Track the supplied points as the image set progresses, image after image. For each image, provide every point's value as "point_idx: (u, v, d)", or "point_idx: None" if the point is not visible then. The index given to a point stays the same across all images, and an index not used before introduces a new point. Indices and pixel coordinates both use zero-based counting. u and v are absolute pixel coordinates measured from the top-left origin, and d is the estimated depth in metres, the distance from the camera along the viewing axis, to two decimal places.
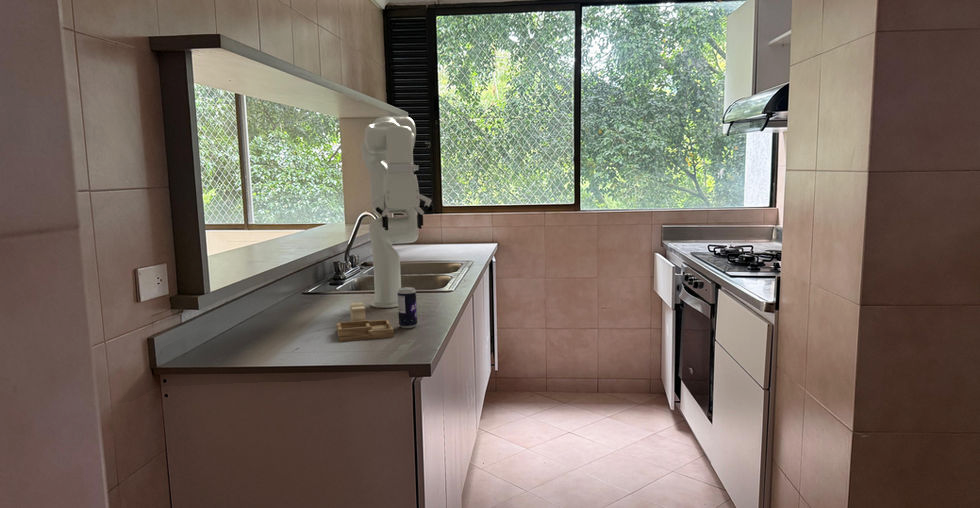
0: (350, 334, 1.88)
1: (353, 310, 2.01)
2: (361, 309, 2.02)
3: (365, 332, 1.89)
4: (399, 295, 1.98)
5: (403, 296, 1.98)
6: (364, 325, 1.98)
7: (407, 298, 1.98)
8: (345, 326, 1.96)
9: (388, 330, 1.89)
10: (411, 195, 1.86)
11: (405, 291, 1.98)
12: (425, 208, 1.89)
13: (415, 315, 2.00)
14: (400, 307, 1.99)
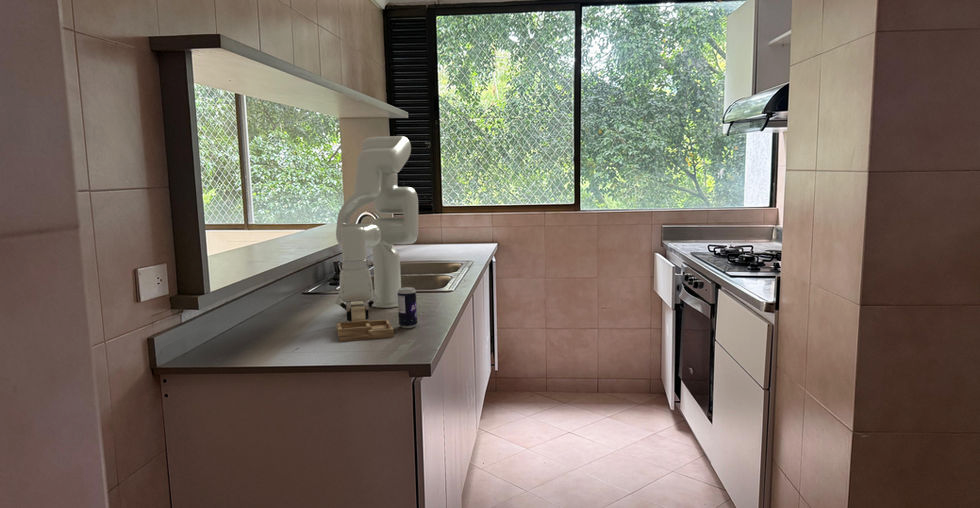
0: (350, 334, 1.88)
1: (353, 310, 2.01)
2: (361, 309, 2.02)
3: (365, 332, 1.89)
4: (399, 295, 1.98)
5: (403, 296, 1.98)
6: (364, 325, 1.98)
7: (407, 298, 1.98)
8: (345, 326, 1.96)
9: (388, 330, 1.89)
10: (364, 289, 2.04)
11: (405, 291, 1.98)
12: (370, 303, 2.07)
13: (415, 315, 2.00)
14: (400, 307, 1.99)
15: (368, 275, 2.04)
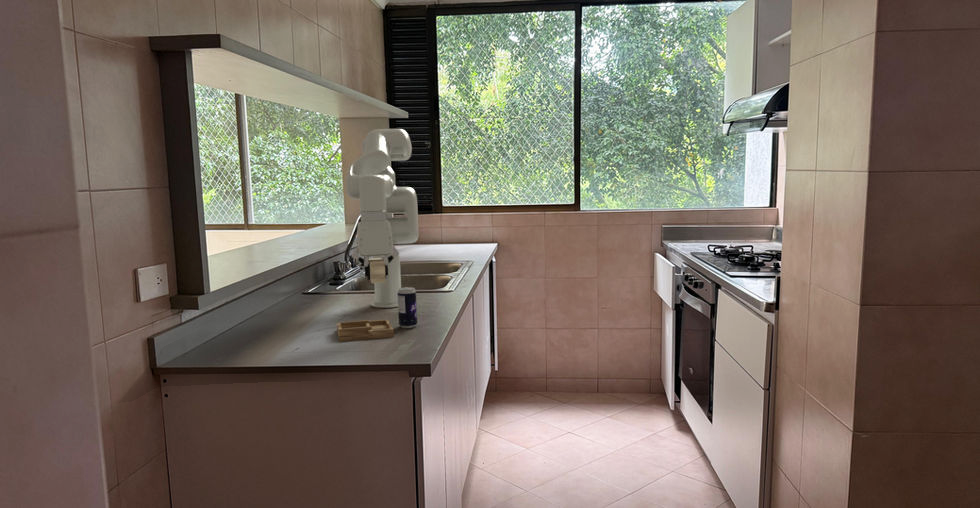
0: (350, 334, 1.88)
1: (372, 264, 1.87)
2: (380, 263, 1.88)
3: (365, 332, 1.89)
4: (399, 295, 1.98)
5: (403, 296, 1.98)
6: (364, 325, 1.98)
7: (407, 298, 1.98)
8: (345, 326, 1.96)
9: (388, 330, 1.89)
10: (384, 242, 1.90)
11: (405, 291, 1.98)
12: (390, 258, 1.93)
13: (415, 315, 2.00)
14: (400, 307, 1.99)
15: (388, 227, 1.90)
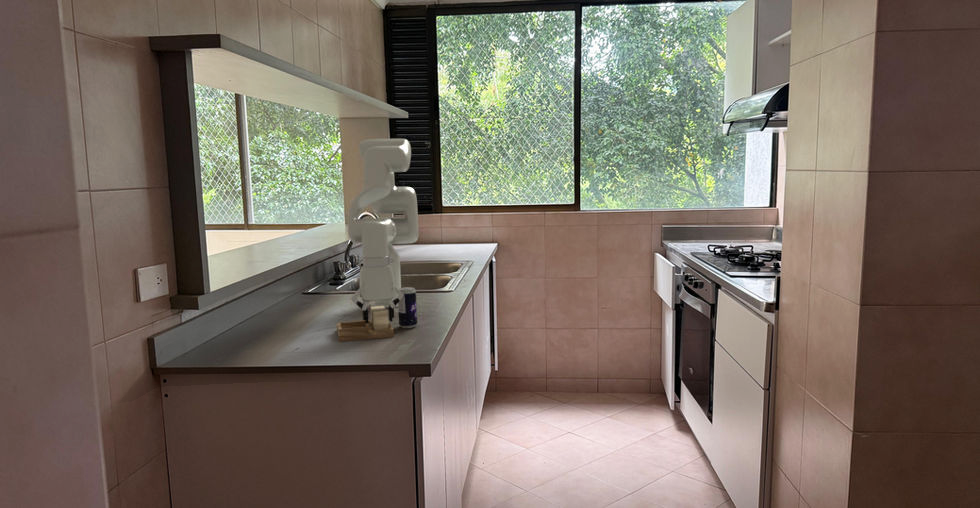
0: (350, 334, 1.88)
1: (375, 314, 1.89)
2: (383, 313, 1.90)
3: (365, 332, 1.89)
4: None
5: (403, 296, 1.98)
6: (364, 325, 1.98)
7: (407, 298, 1.98)
8: (345, 326, 1.96)
9: (388, 330, 1.89)
10: (386, 287, 1.92)
11: (405, 291, 1.98)
12: (396, 301, 1.95)
13: (415, 315, 2.00)
14: (400, 307, 1.99)
15: (390, 273, 1.92)
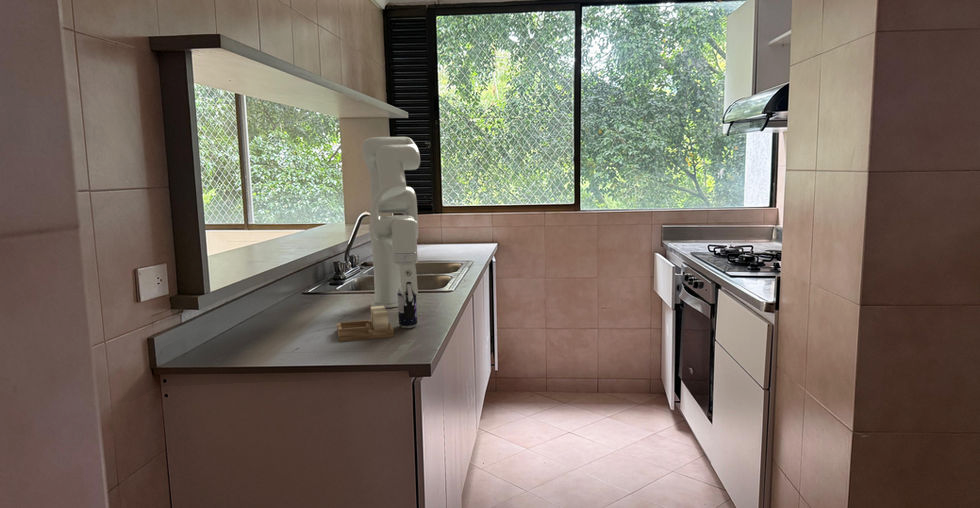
0: (350, 334, 1.88)
1: (375, 314, 1.89)
2: (383, 313, 1.90)
3: (365, 332, 1.89)
4: (399, 295, 1.98)
5: (403, 296, 1.98)
6: (364, 325, 1.98)
7: None
8: (345, 326, 1.96)
9: (388, 330, 1.89)
10: (399, 283, 1.97)
11: None
12: (406, 300, 1.95)
13: (415, 315, 2.00)
14: (400, 307, 1.99)
15: (400, 270, 1.95)
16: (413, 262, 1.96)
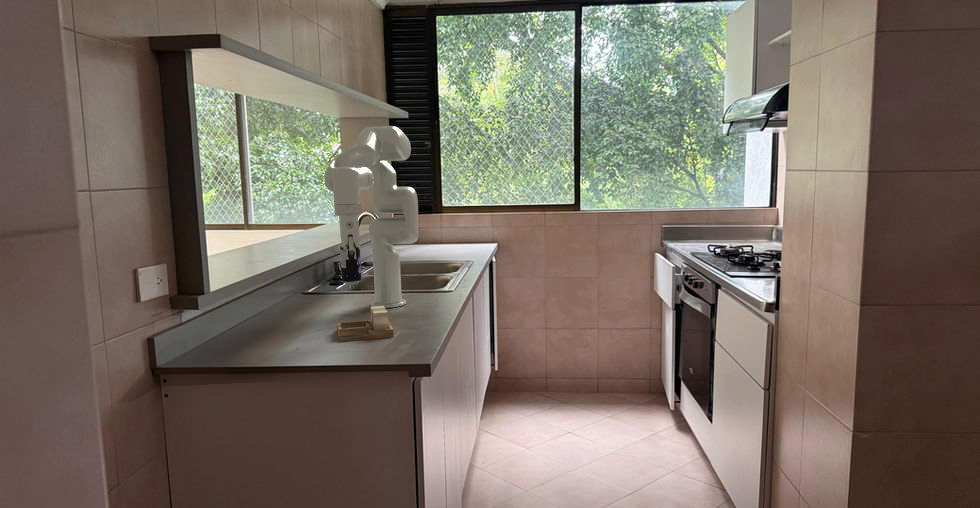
0: (350, 334, 1.88)
1: (375, 314, 1.89)
2: (383, 313, 1.90)
3: (365, 332, 1.89)
4: (341, 249, 1.88)
5: None
6: (364, 325, 1.98)
7: None
8: (345, 326, 1.96)
9: (388, 330, 1.89)
10: (341, 236, 1.86)
11: None
12: (348, 254, 1.85)
13: (359, 270, 1.90)
14: (342, 262, 1.88)
15: (342, 222, 1.85)
16: (355, 214, 1.86)
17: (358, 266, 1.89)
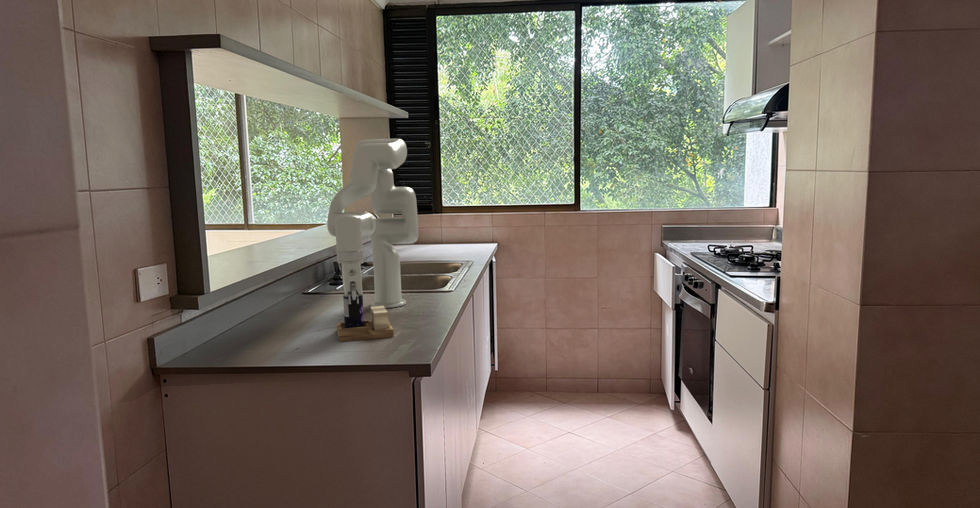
0: (350, 334, 1.88)
1: (375, 314, 1.89)
2: (383, 313, 1.90)
3: (365, 332, 1.89)
4: (344, 298, 1.90)
5: (348, 299, 1.89)
6: (364, 325, 1.98)
7: None
8: None
9: (388, 330, 1.89)
10: (343, 283, 1.88)
11: None
12: (351, 299, 1.85)
13: (362, 319, 1.92)
14: (345, 311, 1.90)
15: (344, 269, 1.86)
16: (358, 261, 1.88)
17: (361, 315, 1.91)
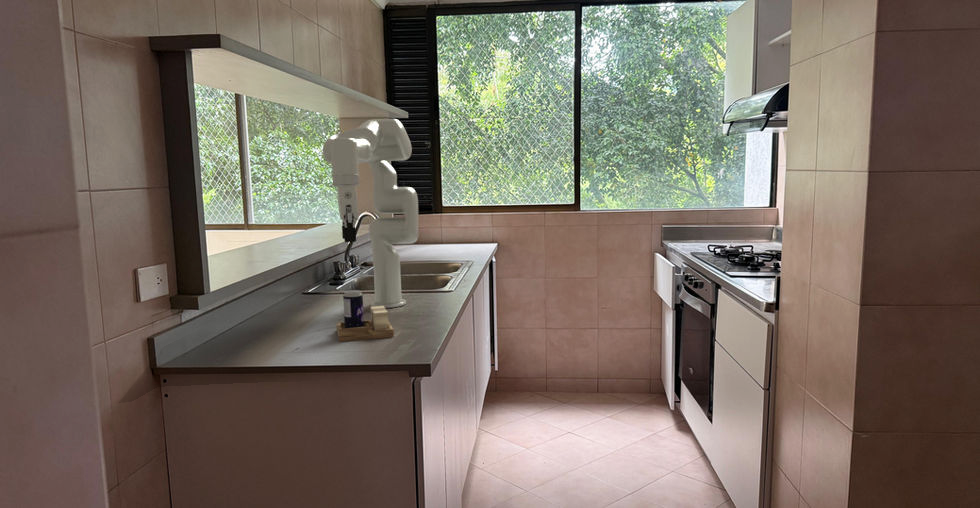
0: (350, 334, 1.88)
1: (375, 314, 1.89)
2: (383, 313, 1.90)
3: (365, 332, 1.89)
4: (344, 298, 1.90)
5: (348, 299, 1.89)
6: (364, 325, 1.98)
7: (353, 301, 1.89)
8: None
9: (388, 330, 1.89)
10: (339, 207, 1.85)
11: (351, 294, 1.89)
12: (346, 222, 1.82)
13: (362, 319, 1.92)
14: (346, 311, 1.90)
15: (340, 192, 1.84)
16: (353, 184, 1.85)
17: (361, 315, 1.91)
